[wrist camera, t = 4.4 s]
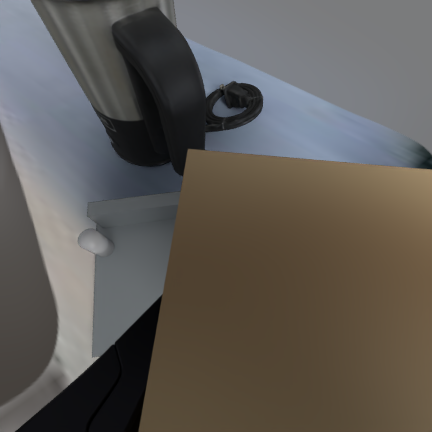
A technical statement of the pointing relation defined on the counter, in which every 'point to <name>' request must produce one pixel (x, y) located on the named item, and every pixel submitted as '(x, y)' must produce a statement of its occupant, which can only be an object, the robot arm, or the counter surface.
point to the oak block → (295, 299)
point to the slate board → (128, 260)
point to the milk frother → (142, 77)
